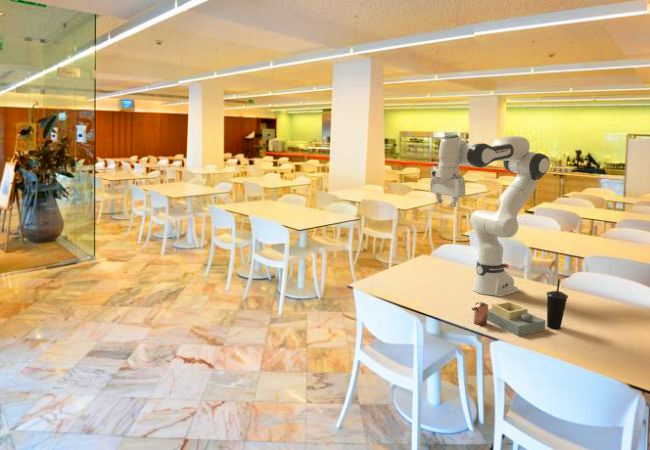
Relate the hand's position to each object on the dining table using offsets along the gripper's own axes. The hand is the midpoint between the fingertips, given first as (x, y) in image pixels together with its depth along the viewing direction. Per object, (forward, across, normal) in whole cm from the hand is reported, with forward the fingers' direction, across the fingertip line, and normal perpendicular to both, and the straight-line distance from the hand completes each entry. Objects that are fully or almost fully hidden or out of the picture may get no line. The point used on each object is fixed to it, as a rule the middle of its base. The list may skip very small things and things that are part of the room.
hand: (446, 205), depth 208 cm
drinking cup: (+45, -40, -25) cm, 65 cm away
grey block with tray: (+44, -32, -12) cm, 56 cm away
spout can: (+44, -27, 0) cm, 52 cm away
